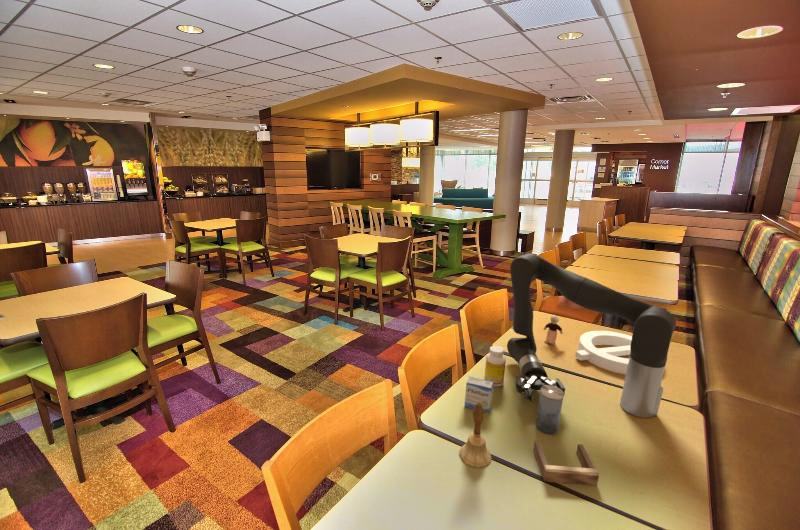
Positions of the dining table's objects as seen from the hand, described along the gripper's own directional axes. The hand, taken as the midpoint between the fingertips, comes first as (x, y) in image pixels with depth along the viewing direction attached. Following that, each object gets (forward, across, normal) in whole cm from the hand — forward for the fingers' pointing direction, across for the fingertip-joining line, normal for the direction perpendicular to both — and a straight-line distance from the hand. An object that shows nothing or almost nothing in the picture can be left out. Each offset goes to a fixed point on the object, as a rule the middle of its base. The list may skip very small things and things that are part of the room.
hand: (545, 400), depth 111 cm
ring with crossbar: (-42, +40, +7) cm, 59 cm away
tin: (+4, 0, +7) cm, 8 cm away
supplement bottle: (-18, -12, +7) cm, 23 cm away
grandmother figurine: (-50, +17, +7) cm, 53 cm away
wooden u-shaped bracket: (+18, 0, +7) cm, 19 cm away
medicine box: (-4, -19, +7) cm, 21 cm away
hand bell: (+17, -22, +7) cm, 28 cm away
